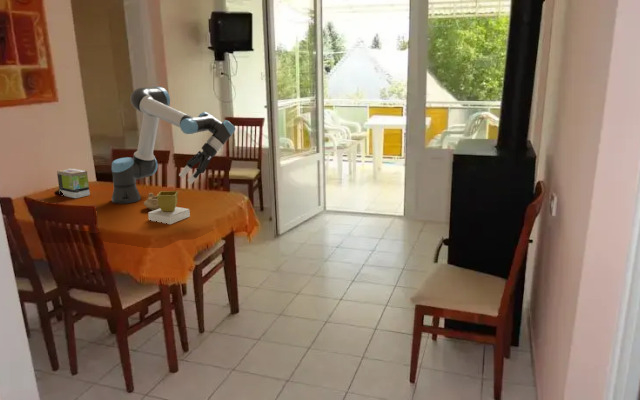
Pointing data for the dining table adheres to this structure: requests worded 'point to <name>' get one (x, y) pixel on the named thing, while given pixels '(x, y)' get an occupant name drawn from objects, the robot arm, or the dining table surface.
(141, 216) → the dining table surface
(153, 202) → the oil lamp
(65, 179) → the tea box
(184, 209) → the plinth
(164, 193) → the flower pot
